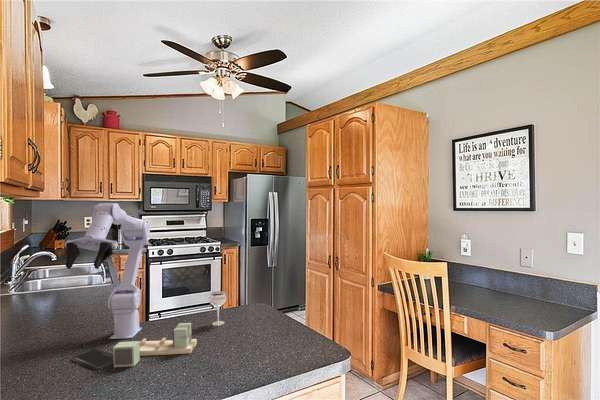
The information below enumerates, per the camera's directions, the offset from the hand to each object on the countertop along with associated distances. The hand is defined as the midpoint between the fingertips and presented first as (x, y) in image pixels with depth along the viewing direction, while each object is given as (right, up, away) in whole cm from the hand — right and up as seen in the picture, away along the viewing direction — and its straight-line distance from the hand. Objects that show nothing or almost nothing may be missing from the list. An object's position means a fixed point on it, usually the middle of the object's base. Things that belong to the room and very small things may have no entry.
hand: (81, 266), depth 102 cm
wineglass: (+31, -30, +38) cm, 58 cm away
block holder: (+18, -30, +14) cm, 38 cm away
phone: (0, -31, +8) cm, 32 cm away
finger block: (+11, -31, +5) cm, 33 cm away
